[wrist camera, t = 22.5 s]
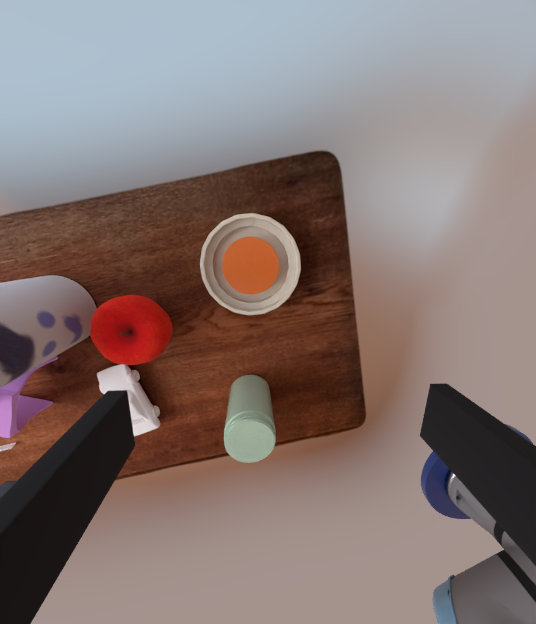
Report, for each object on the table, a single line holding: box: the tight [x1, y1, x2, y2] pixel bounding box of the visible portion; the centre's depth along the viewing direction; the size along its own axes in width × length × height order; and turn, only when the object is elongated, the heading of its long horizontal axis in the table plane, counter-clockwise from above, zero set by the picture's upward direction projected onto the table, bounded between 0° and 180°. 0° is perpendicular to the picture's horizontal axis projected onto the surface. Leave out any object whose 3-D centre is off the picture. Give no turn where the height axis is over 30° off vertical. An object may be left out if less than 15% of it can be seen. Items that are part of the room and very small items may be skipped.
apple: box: [90, 295, 173, 365], centre depth 32 cm, size 9×9×8 cm
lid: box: [222, 237, 279, 294], centre depth 34 cm, size 8×8×2 cm
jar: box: [224, 375, 276, 463], centre depth 35 cm, size 7×7×11 cm
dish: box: [200, 213, 301, 315], centre depth 34 cm, size 13×13×3 cm
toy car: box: [97, 364, 160, 436], centre depth 38 cm, size 6×12×3 cm, turn 19°
